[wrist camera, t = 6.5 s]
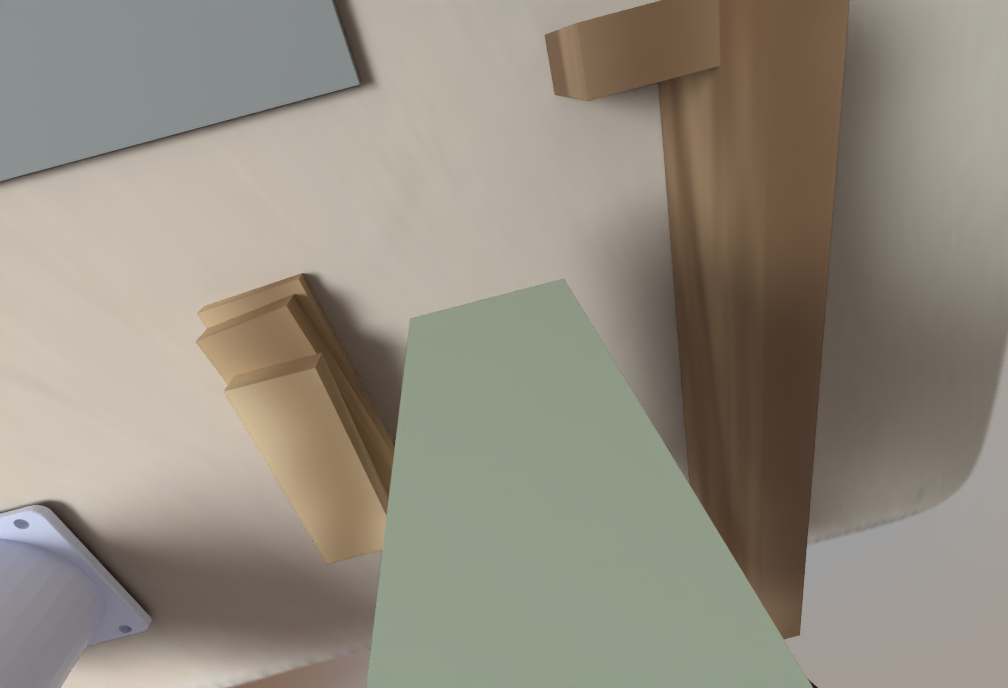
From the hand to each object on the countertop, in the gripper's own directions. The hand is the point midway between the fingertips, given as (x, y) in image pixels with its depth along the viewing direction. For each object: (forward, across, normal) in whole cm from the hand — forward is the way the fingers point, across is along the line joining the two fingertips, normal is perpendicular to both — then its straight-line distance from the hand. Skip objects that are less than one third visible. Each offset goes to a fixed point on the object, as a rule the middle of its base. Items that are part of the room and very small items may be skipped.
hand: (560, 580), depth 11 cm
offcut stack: (+10, +7, +1) cm, 13 cm away
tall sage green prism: (+3, 0, 0) cm, 3 cm away
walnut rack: (+10, -6, +1) cm, 12 cm away
